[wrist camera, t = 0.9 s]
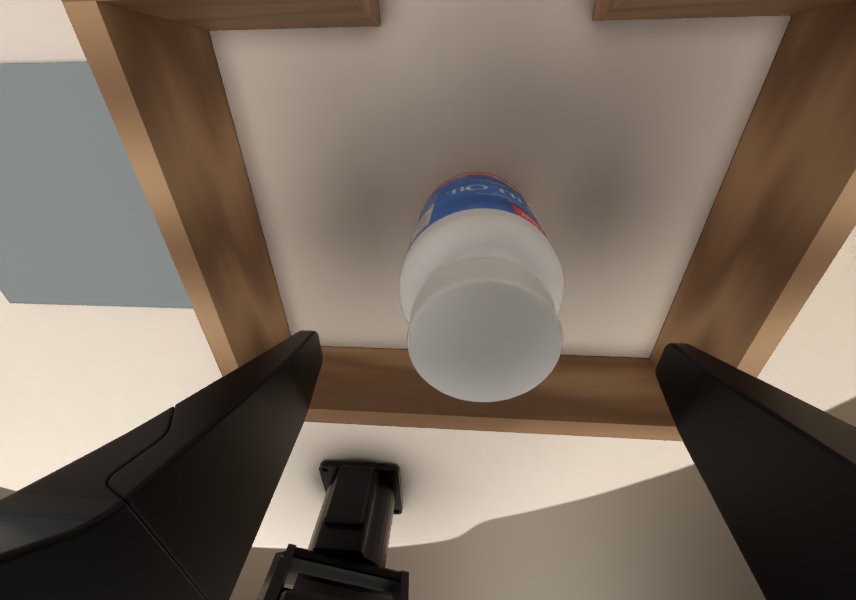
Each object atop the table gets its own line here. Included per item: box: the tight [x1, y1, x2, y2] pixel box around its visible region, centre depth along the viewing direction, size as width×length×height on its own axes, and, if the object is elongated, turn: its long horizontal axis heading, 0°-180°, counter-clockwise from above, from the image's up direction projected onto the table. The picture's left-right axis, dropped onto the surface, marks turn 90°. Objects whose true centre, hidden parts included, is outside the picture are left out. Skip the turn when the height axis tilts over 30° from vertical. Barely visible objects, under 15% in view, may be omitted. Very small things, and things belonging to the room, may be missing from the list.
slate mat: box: [0, 62, 193, 309], centre depth 18 cm, size 12×12×1 cm
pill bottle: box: [399, 173, 564, 402], centre depth 13 cm, size 6×5×10 cm
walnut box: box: [62, 0, 856, 441], centre depth 15 cm, size 18×24×5 cm
